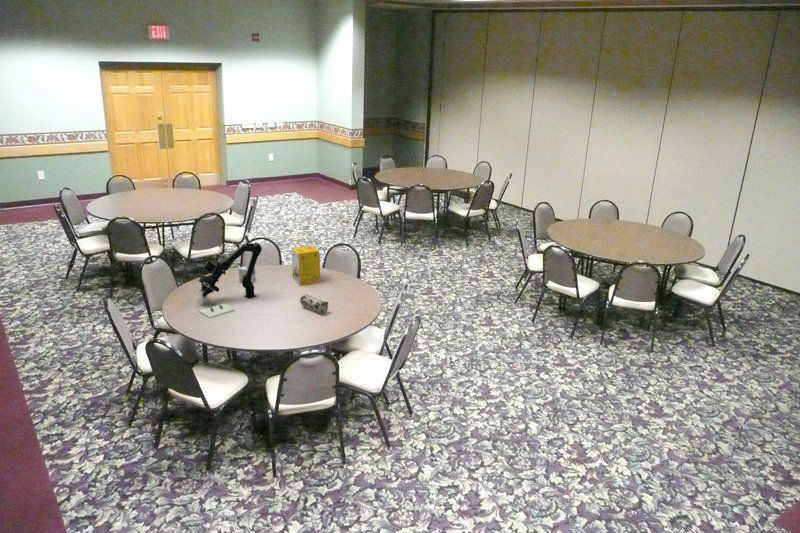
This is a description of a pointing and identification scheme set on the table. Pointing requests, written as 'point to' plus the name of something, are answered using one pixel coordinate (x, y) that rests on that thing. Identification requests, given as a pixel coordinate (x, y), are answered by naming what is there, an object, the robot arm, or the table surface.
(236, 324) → the table surface
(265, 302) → the table surface
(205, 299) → the block
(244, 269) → the light bulb box
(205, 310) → the pin tray
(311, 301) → the pencil case
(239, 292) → the table surface
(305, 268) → the packaging box
